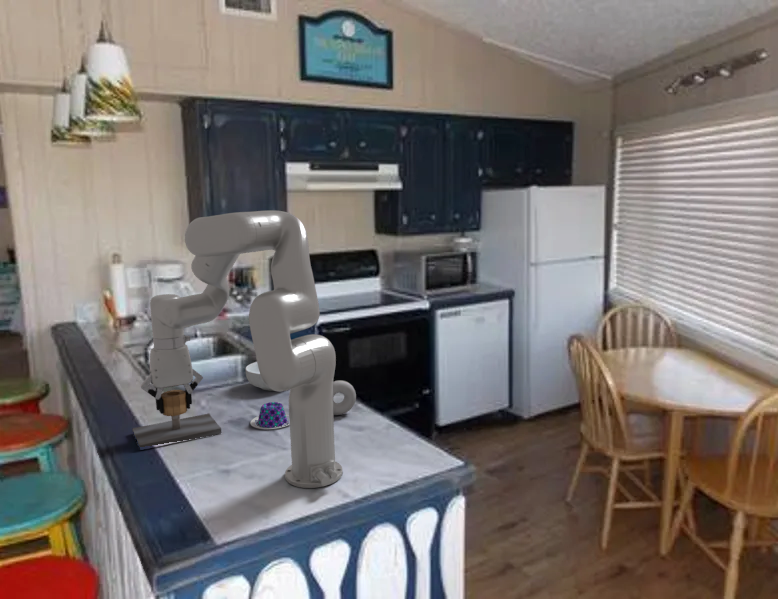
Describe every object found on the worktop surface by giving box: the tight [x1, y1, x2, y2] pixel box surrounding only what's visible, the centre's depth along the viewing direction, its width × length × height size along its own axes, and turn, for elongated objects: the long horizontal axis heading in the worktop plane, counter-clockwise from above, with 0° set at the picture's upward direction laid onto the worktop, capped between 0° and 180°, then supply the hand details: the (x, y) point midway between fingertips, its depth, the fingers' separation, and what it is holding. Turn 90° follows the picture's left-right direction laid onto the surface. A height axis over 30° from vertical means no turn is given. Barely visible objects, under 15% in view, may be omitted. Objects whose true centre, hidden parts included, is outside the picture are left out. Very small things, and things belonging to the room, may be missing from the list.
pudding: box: [250, 401, 290, 430], centre depth 167 cm, size 12×12×5 cm
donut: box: [333, 380, 357, 416], centre depth 171 cm, size 10×4×10 cm, turn 111°
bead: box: [161, 389, 188, 417], centre depth 159 cm, size 6×6×5 cm
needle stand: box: [132, 413, 223, 447], centre depth 160 cm, size 13×20×8 cm, turn 120°
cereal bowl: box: [245, 361, 273, 391], centre depth 198 cm, size 17×17×7 cm
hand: (174, 409), depth 160 cm, fingers closed on bead, 6 cm apart
